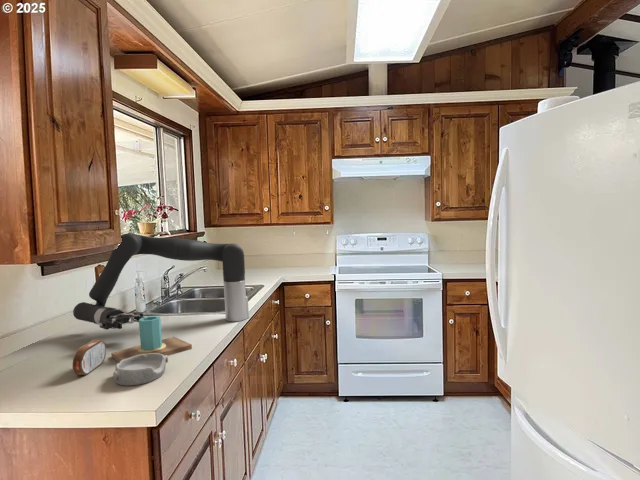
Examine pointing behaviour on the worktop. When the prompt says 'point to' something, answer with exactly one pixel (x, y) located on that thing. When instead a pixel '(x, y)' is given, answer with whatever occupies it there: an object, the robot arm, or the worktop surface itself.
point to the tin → (89, 357)
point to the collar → (150, 333)
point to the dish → (140, 369)
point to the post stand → (167, 348)
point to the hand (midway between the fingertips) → (132, 322)
